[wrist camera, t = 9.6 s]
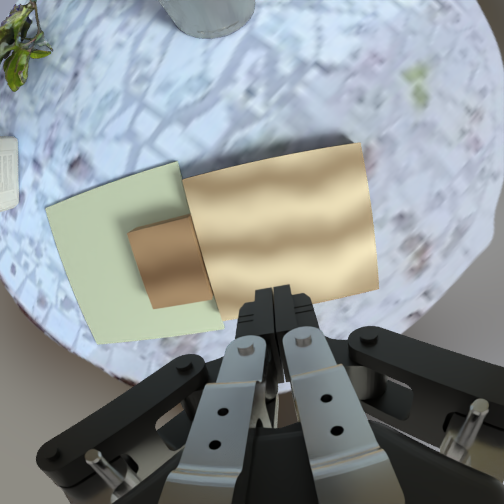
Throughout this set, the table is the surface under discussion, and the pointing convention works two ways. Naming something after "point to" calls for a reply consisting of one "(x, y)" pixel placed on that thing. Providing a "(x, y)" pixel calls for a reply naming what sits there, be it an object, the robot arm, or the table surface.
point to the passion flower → (20, 44)
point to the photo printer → (8, 173)
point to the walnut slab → (171, 262)
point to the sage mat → (123, 257)
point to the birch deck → (286, 226)
